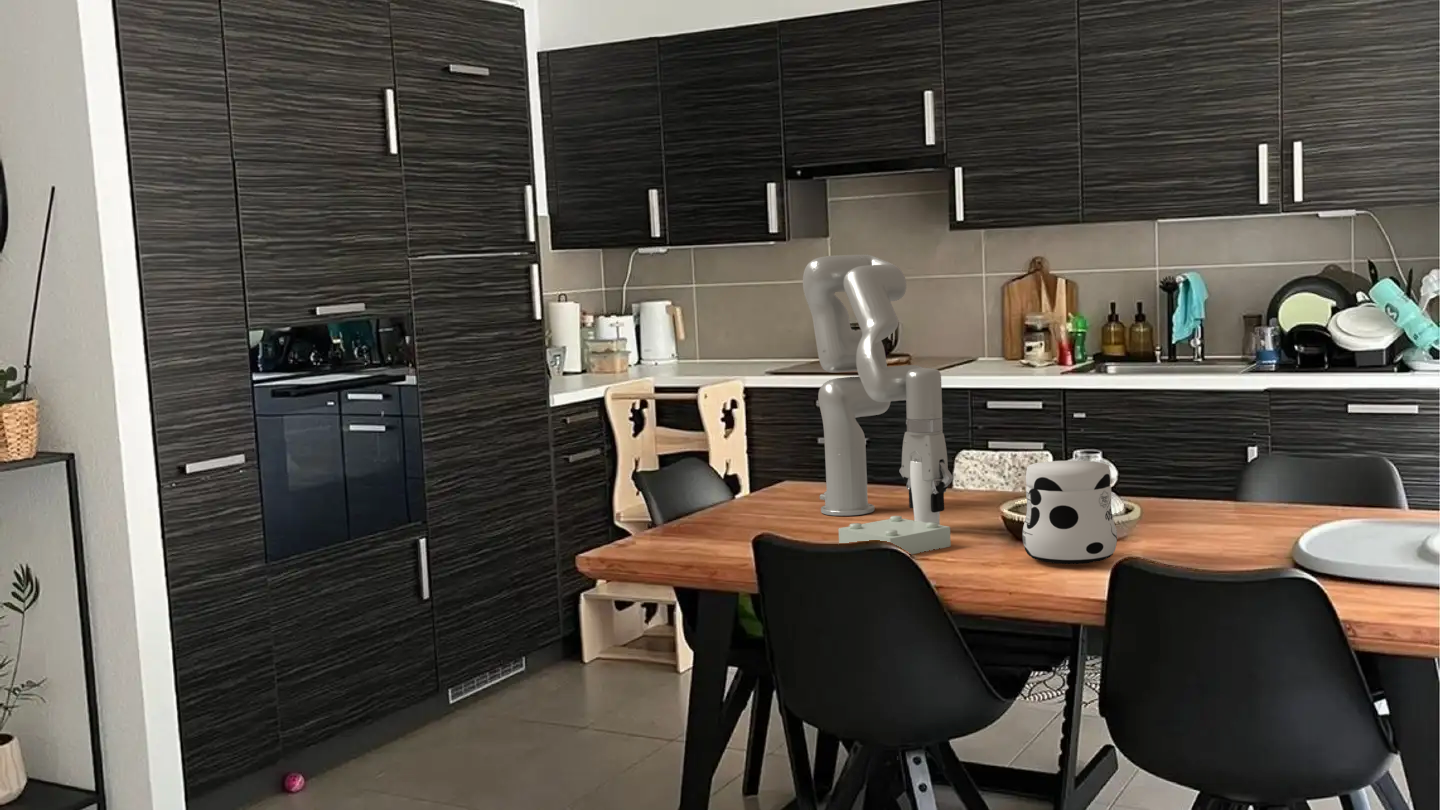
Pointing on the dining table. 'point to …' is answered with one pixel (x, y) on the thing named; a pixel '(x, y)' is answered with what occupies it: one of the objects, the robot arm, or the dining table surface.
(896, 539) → the brick riser
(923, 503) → the drinking glass
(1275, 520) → the dining table surface
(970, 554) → the dining table surface
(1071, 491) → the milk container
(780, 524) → the dining table surface
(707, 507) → the dining table surface
